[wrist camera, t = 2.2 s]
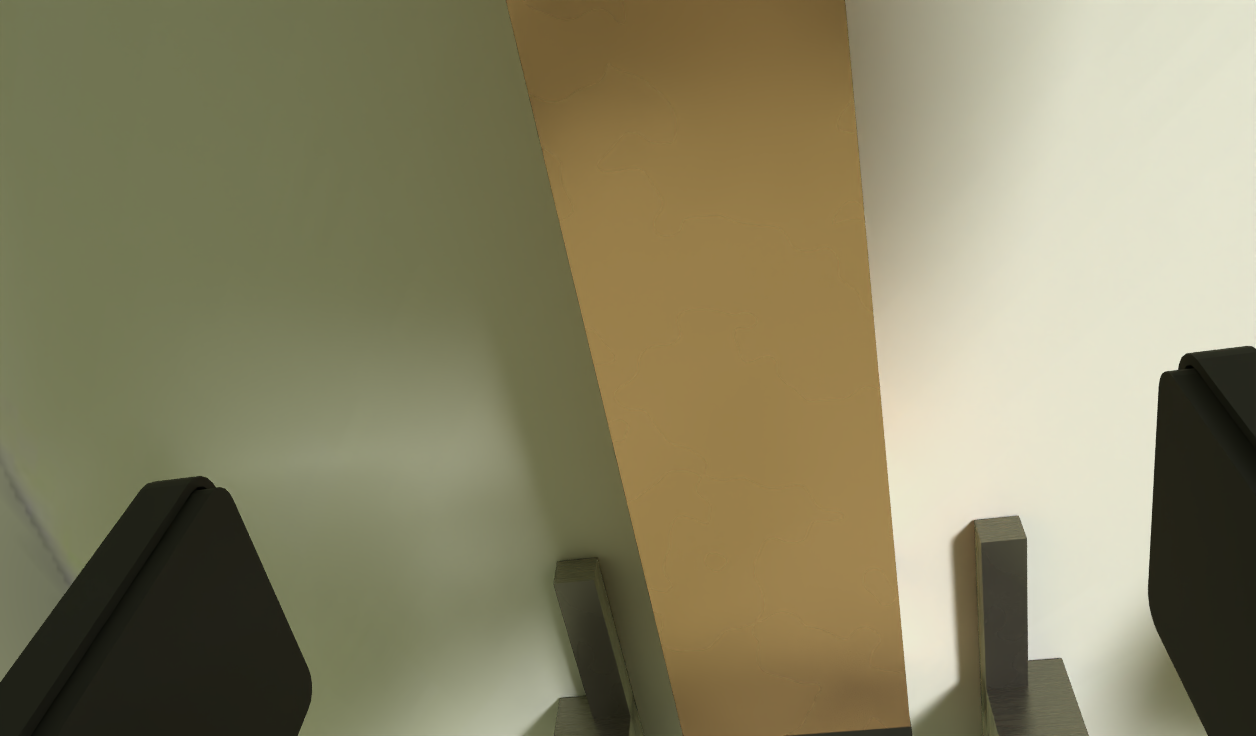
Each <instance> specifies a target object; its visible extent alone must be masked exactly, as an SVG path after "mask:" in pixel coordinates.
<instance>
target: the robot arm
mask: <svg viewBox="0 0 1256 736" xmlns="http://www.w3.org/2000/svg"><path fill="white" fill-rule="evenodd" d="M1148 598H1149V606H1150V611H1151V615H1152V619H1153V622H1154V625H1155V627H1156V630H1157V632H1158V634H1159V636H1160V638H1161V640H1162V642H1163V644H1164V646H1165V648H1166V650H1167V652H1168V655H1169V657H1170V659H1171V661H1172V663H1173V665H1174V667H1175V669H1176V671H1177V673H1178V675H1179V677H1180V679H1181V681H1182V683H1183V685H1184V687H1185V689H1186V691H1187V693H1188V696H1189V698H1190V700H1191V702H1192V704H1193V706H1194V708H1195V710H1196V712H1197V714H1198V716H1199V718H1200V720H1201V722H1202V724H1203V726H1204V728H1205V730H1206V732H1207V734H1208V736H1256V349H1255V348H1254V347H1252V346H1243V347H1235V348H1226V349H1218V350H1210V351H1202V352H1194V353H1186V354H1185V355H1184V356H1183V357H1182V358H1181V361H1180V363H1179V368H1178V370H1174V371H1166V372H1164V373H1163V374H1162V375H1161V378H1160V382H1159V392H1158V410H1157V429H1156V448H1155V467H1154V486H1153V505H1152V523H1151V542H1150V561H1149V580H1148ZM311 695H312V682H311V675H310V672H309V669H308V667H307V664H306V662H305V660H304V658H303V655H302V653H301V651H300V649H299V646H298V644H297V642H296V640H295V637H294V635H293V633H292V631H291V628H290V626H289V624H288V622H287V619H286V617H285V615H284V613H283V610H282V608H281V606H280V604H279V601H278V599H277V597H276V595H275V592H274V590H273V588H272V586H271V583H270V581H269V579H268V577H267V574H266V572H265V570H264V568H263V565H262V563H261V561H260V559H259V556H258V554H257V552H256V550H255V547H254V545H253V543H252V541H251V538H250V536H249V534H248V532H247V530H246V527H245V525H244V523H243V521H242V518H241V516H240V514H239V512H238V509H237V507H236V505H235V503H234V500H233V498H232V497H231V495H230V493H229V492H228V491H227V490H226V489H224V488H220V487H218V488H216V487H215V486H214V484H213V483H212V482H211V481H210V480H209V479H208V478H205V477H202V476H197V477H188V478H180V479H172V480H164V481H156V482H152V483H148V484H146V485H145V486H144V487H143V488H142V489H141V490H140V492H139V493H138V494H137V496H136V497H135V498H134V500H133V501H132V502H131V504H130V505H129V507H128V508H127V509H126V511H125V512H124V513H123V515H122V516H121V518H120V519H119V520H118V522H117V523H116V524H115V526H114V527H113V529H112V530H111V531H110V533H109V534H108V535H107V537H106V538H105V540H104V541H103V542H102V544H101V545H100V546H99V548H98V549H97V550H96V552H95V553H94V555H93V556H92V557H91V559H90V560H89V561H88V563H87V564H86V566H85V567H84V568H83V570H82V571H81V572H80V574H79V575H78V577H77V578H76V579H75V581H74V582H73V583H72V585H71V586H70V588H69V589H68V590H67V592H66V593H65V594H64V596H63V597H62V598H61V600H60V601H59V603H58V604H57V605H56V607H55V608H54V609H53V611H52V612H51V614H50V615H49V616H48V618H47V619H46V620H45V622H44V623H43V625H42V626H41V627H40V629H39V630H38V632H37V633H36V634H35V636H34V637H33V638H32V640H31V641H30V642H29V644H28V645H27V647H26V648H25V649H24V651H23V652H22V653H21V655H20V656H19V658H18V659H17V660H16V662H15V663H14V664H13V666H12V667H11V668H10V670H9V671H8V673H7V674H6V675H5V677H4V678H3V680H2V681H1V682H0V736H298V733H299V731H300V728H301V726H302V723H303V721H304V718H305V716H306V713H307V711H308V708H309V705H310V702H311Z"/></svg>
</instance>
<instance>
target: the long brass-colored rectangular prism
mask: <svg viewBox="0 0 1256 736" xmlns="http://www.w3.org/2000/svg"><path fill="white" fill-rule="evenodd" d="M506 3H507V7H508V11H509V15H510V19H511V24H512V28H513V32H514V36H515V40H516V44H517V49H518V53H519V57H520V61H521V65H522V69H523V73H524V78H525V82H526V86H527V90H528V94H529V98H530V102H531V107H532V111H533V115H534V119H535V123H536V127H537V132H538V136H539V140H540V144H541V148H542V152H543V156H544V161H545V165H546V169H547V173H548V177H549V181H550V185H551V190H552V194H553V198H554V202H555V206H556V210H557V215H558V219H559V223H560V227H561V231H562V235H563V239H564V244H565V248H566V252H567V256H568V260H569V264H570V269H571V273H572V277H573V281H574V285H575V289H576V293H577V298H578V302H579V306H580V310H581V314H582V318H583V322H584V327H585V331H586V335H587V339H588V343H589V347H590V352H591V356H592V360H593V364H594V368H595V372H596V376H597V381H598V385H599V389H600V393H601V397H602V401H603V405H604V410H605V414H606V418H607V422H608V426H609V430H610V435H611V439H612V443H613V447H614V451H615V455H616V459H617V464H618V468H619V472H620V476H621V480H622V484H623V489H624V493H625V497H626V501H627V505H628V509H629V513H630V518H631V522H632V526H633V530H634V534H635V538H636V542H637V547H638V551H639V555H640V559H641V563H642V567H643V572H644V576H645V580H646V584H647V588H648V592H649V596H650V601H651V605H652V609H653V613H654V617H655V621H656V626H657V630H658V634H659V638H660V642H661V646H662V650H663V655H664V659H665V663H666V667H667V671H668V675H669V679H670V684H671V688H672V692H673V696H674V700H675V704H676V709H677V713H678V717H679V721H680V725H681V729H682V733H683V736H912V729H911V722H910V717H909V707H908V696H907V685H906V674H905V663H904V651H903V640H902V629H901V618H900V607H899V596H898V585H897V573H896V562H895V551H894V540H893V529H892V518H891V507H890V495H889V484H888V473H887V462H886V451H885V440H884V429H883V417H882V406H881V395H880V384H879V373H878V362H877V351H876V340H875V328H874V317H873V306H872V295H871V284H870V273H869V262H868V250H867V239H866V228H865V217H864V206H863V195H862V184H861V172H860V161H859V150H858V139H857V128H856V117H855V106H854V94H853V83H852V72H851V61H850V50H849V39H848V28H847V16H846V5H845V0H506Z"/></svg>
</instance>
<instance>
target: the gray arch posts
mask: <svg viewBox="0 0 1256 736" xmlns="http://www.w3.org/2000/svg"><path fill="white" fill-rule="evenodd" d="M974 525H975V551H976V576H977V602H978V627H979V653H980V679H981V704H982V730H983V736H1089V735H1088V732H1087V729H1086V726H1085V724H1084V721H1083V718H1082V715H1081V712H1080V709H1079V706H1078V703H1077V701H1076V698H1075V695H1074V692H1073V689H1072V686H1071V683H1070V680H1069V678H1068V675H1067V672H1066V669H1065V666H1064V663H1063V660H1062V658H1060V659H1048V660H1035V661H1028V622H1027V538H1026V535H1025V532H1024V529H1023V526H1022V524H1021V521H1020V518H1019V516H1012V517H1002V518H992V519H981V520H974ZM553 584H554V588H555V591H556V594H557V598H558V601H559V605H560V608H561V611H562V615H563V618H564V622H565V625H566V628H567V632H568V635H569V639H570V642H571V645H572V649H573V652H574V656H575V659H576V662H577V666H578V669H579V673H580V676H581V679H582V683H583V686H584V690H585V693H586V696H584V697H572V698H560V700H559V707H558V713H557V720H556V726H555V733H554V736H644V734H643V730H642V726H641V722H640V719H639V715H638V711H637V707H636V703H635V700H634V696H633V692H632V688H631V685H630V681H629V677H628V673H627V669H626V666H625V662H624V658H623V654H622V650H621V647H620V643H619V639H618V635H617V631H616V628H615V624H614V620H613V616H612V613H611V609H610V605H609V601H608V597H607V594H606V590H605V586H604V582H603V578H602V575H601V571H600V567H599V563H598V559H597V558H589V559H579V560H569V561H559V562H557V567H556V572H555V578H554V583H553Z"/></svg>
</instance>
